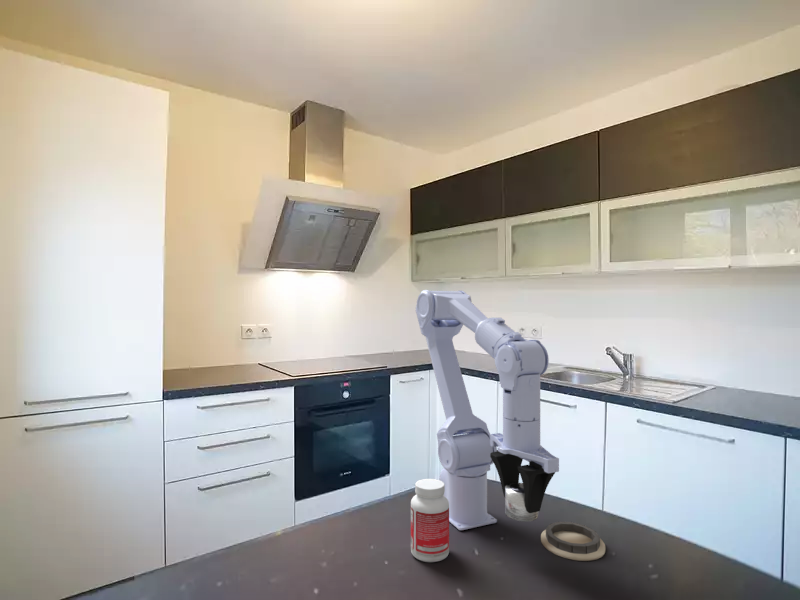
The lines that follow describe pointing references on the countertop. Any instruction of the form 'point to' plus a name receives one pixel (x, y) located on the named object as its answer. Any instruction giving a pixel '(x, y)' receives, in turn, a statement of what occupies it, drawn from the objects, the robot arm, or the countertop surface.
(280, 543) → the countertop surface
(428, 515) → the pill bottle
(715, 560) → the countertop surface
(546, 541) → the mount
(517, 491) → the lens
